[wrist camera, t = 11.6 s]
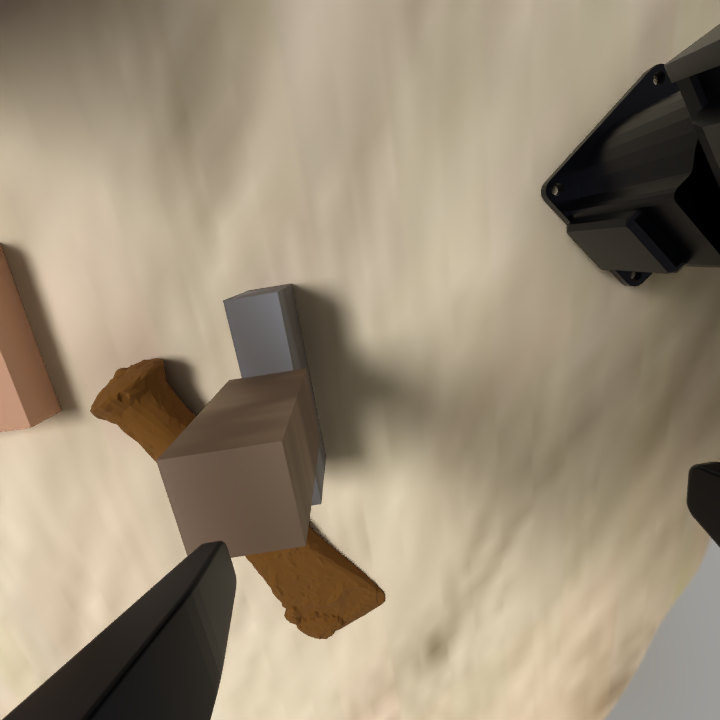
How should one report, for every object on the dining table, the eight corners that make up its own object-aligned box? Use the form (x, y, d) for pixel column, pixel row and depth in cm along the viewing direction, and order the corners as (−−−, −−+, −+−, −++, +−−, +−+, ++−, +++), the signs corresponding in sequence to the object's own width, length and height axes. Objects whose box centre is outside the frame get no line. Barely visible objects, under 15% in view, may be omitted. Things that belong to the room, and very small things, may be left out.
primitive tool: (389, 593, 23) (395, 651, 20) (316, 636, 24) (310, 698, 21) (164, 340, 19) (123, 360, 16) (84, 402, 20) (29, 434, 16)
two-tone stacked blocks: (302, 282, 18) (253, 315, 8) (335, 455, 20) (325, 635, 11) (238, 291, 18) (115, 337, 8) (278, 463, 20) (219, 652, 11)
